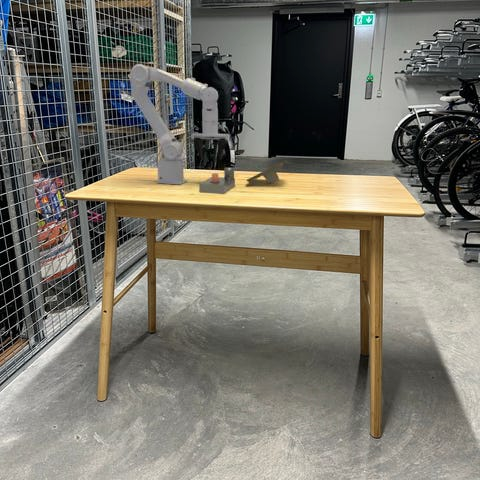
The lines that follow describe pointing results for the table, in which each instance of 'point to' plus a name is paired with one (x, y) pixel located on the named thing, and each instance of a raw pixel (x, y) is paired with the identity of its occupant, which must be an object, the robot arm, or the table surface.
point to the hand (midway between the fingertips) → (210, 158)
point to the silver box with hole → (219, 183)
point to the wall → (268, 174)
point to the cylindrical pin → (214, 178)
